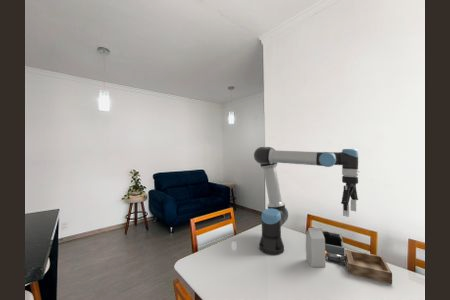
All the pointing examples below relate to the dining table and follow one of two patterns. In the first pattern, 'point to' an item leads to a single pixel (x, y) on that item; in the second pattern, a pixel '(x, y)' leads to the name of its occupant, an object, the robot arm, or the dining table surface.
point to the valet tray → (333, 248)
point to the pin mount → (337, 260)
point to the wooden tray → (368, 266)
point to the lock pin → (334, 256)
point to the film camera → (332, 239)
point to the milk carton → (315, 247)
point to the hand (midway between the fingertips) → (349, 213)
